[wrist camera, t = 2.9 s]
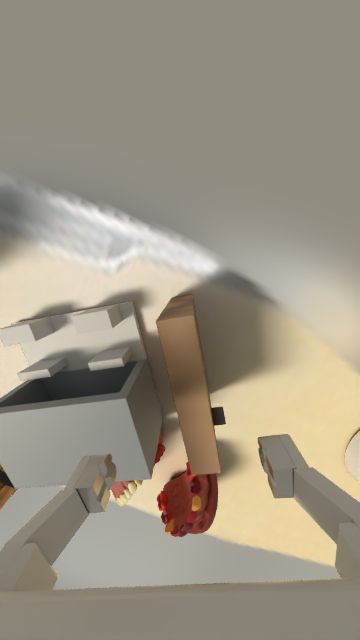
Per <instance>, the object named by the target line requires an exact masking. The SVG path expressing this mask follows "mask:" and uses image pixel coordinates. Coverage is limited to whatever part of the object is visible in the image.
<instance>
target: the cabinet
mask: <svg viewBox="0 0 360 640" xmlns="http://www.w3.org/2000/svg"><path fill="white" fill-rule="evenodd" d="M0 339H1V341H2V343H3V345H4V347H5V346H11V345H17V344H20V346H21V348H22V350H23V352H24V355H25V357H26V359H27V361H28V363H29V367H27V368H26V369H24V370H22V371H21V372H19V373H17V375H18V377H19V379H20V381H24V380H27V381H25V382H24V383H22V384H21V385H19V386H18V387H16V388H15V389H13V390H12V391H10V392H9V393H7V394H6V395H4V396H3V397H2V398H0V464H1V466H2V467H3V469H4V471H5V472H6V474H7V476H8V477H9V479H10V481H11V482H12V484H13V486H14V487H15V489H16V488H30V487H44V486H59V485H67V483H68V481H69V480H70V478H71V476H72V474H73V472H74V471H75V469H76V467H77V465H78V463H79V462H80V460H81V459H82V458H83V457H84V456H89V455H101V454H111V456H112V462H113V463H114V464H115V465H116V470H117V473H116V479H115V482H117V481H131V480H146V479H151V478H152V473H153V467H154V462H155V457H156V452H157V446H158V441H159V436H160V431H161V426H162V420H163V416H162V412H161V408H160V404H159V400H158V396H157V393H156V389H155V385H154V381H153V377H152V373H151V370H150V366H149V362H148V358H147V354H146V350H145V347H144V343H143V339H142V335H141V331H140V327H139V323H138V320H137V316H136V312H135V308H134V304H133V301H130V302H125V303H120V304H114V305H109V306H103V307H98V308H92V309H87V310H81V311H76V312H71V313H65V314H60V315H54V316H49V317H43V318H38V319H33V320H27V321H22V322H16V323H13V324H11V326H8V327H4V328H1V329H0Z"/></svg>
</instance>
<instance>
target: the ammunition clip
mask: <svg viewBox="0 0 360 640" xmlns="http://www.w3.org/2000/svg"><path fill="white" fill-rule="evenodd" d="M17 489H18V488H16V489H15V487H14V486H13V484H12V482H11V481H10V479H9V477H8V476H7V474H6V472H5V471H4V469H3V467H2V466H1V464H0V509H1V508H2V507H3V505H4V504H5V503H6V502H7V500H8V499H9V498H10V497H11V495H13V494H14V492H15V491H16V490H17Z"/></svg>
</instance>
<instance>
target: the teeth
mask: <svg viewBox="0 0 360 640" xmlns="http://www.w3.org/2000/svg"><path fill="white" fill-rule="evenodd" d="M161 430H162V429H161ZM162 437H163V435H162V431H160V436H159V441H158V446H157V452H156V457H155V462H154V465H155V464H156V463H157V462H159V461H160V457H161V456H162V455H163V453H164V451H165V447H164V446H163V445H162V444H161V443H162ZM186 465H187V471H186V472H185V473H184V474H182V475H181V476H179V477H177V478H175V479H173V480H171V481H169V482H167V483H166V484H165V486H164V488H163V491H161V493H160V494H159V495H158V497H157V501H158V507H159V510H160V511H163V512H162V515H161V518H162V521H163V523H164V524H167V525H166V527H165V532H166V533H167V534H171V535H172V536H175V537H176V536H179V537H182V536H185V535H186V534H188V533H192V534H198V533H203V532H205V531H207V530H208V529H209V528H210V526H211V525H212V523H213V520H214V517H215V514H216V510H217V503H218V484H217V475H216V473H214V474H199V475H192V474H191V470H190V466H189V462H187V463H186ZM142 481H143V480H131V481H117V482H115V483H114V485H113V486H112V488H111V490H112V492H113V495H114V497H115V499H116V502H117V504H118V505H120V506H121V507H123V505H124V504H125V503H126V502H127V501H128V499H130V498H131V496H132V494H133V493H134V492H135V491H136V489H137V485H138V486H140V485H142Z"/></svg>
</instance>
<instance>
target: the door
mask: <svg viewBox="0 0 360 640" xmlns="http://www.w3.org/2000/svg"><path fill="white" fill-rule="evenodd" d="M156 324H157V328H158V333H159V337H160V341H161V346H162V350H163V354H164V358H165V363H166V367H167V371H168V376H169V380H170V384H171V388H172V393H173V397H174V401H175V406H176V410H177V414H178V418H179V423H180V427H181V431H182V436H183V440H184V444H185V448H186V453H187V457H188V461H189V466H190V470H191V474H192V475H199V474H214V473H221V470H220V463H219V457H218V450H217V443H216V436H215V429H214V425H223V424H226V423H225V417H224V411H223V407H215V408H211V402H210V395H209V389H208V383H207V377H206V371H205V365H204V360H203V354H202V348H201V342H200V336H199V330H198V325H197V319H196V313H195V307H194V301H193V295H186V296H181V297H175V298H171V300H170V301H169V303H168V304H167V306H166V307H165V309H164V310H163V312H162V313H161V314H160V316H159V317H158V319H157V320H156Z"/></svg>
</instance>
